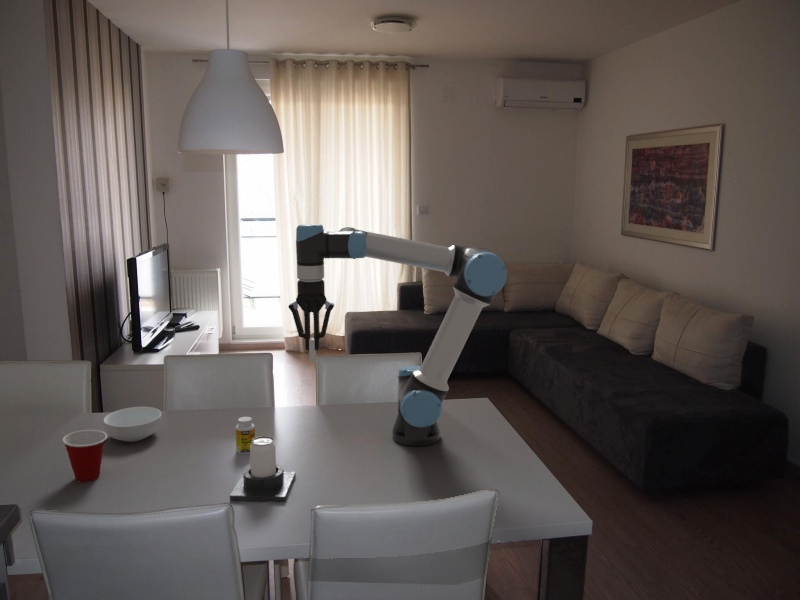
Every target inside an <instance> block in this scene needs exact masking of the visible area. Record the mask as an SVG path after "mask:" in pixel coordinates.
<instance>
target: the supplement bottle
mask: <svg viewBox="0 0 800 600" xmlns="http://www.w3.org/2000/svg"><path fill="white" fill-rule="evenodd" d="M255 427H256V426H255V424H254V423H253V418H252V417H250V416H242V417H241V416H240V417H239V418H238V419H237V424H236V426H235V446H236V449H235V450H236V452H237V453H238V454H240V455H250V446H251V443H252V442H251V441H252V439H254V438H256V428H255Z"/></svg>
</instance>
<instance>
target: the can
mask: <svg viewBox="0 0 800 600" xmlns="http://www.w3.org/2000/svg"><path fill="white" fill-rule="evenodd" d="M251 442H252V443H251V446H250V454H249V455H250V458H249V459H250V462H249V463H250V466H251V476H253V477H260V478H264V477H269V476H272V475H274V474H276V464H277V457H276V455H277V454H276V453H277V451H276V444H275V442H274V438H273V437H272V436H267V435H262V436H257V437H256V436H255V438H254V439H252V441H251Z"/></svg>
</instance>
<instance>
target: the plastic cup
mask: <svg viewBox="0 0 800 600" xmlns="http://www.w3.org/2000/svg"><path fill="white" fill-rule="evenodd" d="M107 438H108V434H107V432H106V431H102V430H97V429H83V430H82V429H81V430H78V431H77V430H76V431H73V432H70V433H67V434H65V436H63V438H62V442H63V444H64V446H65V448H66V452H67V455H68V459H69V462H70V466H71V470H72V472H73V474H74V478H75V480H76V482H78V481H79V483H88V482H89V481H90V482H93V481H95V480H97V479H98V478H99V477H100V474H101V466H102V460H103V451H104V445H105V442H106V440H107ZM90 482H89V483H90Z"/></svg>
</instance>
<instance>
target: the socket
mask: <svg viewBox="0 0 800 600" xmlns="http://www.w3.org/2000/svg"><path fill="white" fill-rule="evenodd" d="M296 476H297V475H296V471H284V468H283V466H282V465H281V464H279V463H276V474H274V475H272V476H269V477H264V478H260V477H253V476H251V465H250V466H247V467H245V469H244V471H243V473H242V474H241V476H240V477H239V480H238V481H237V483H236V484H235V486H234V488H233V489H232V491H231V493H230V495H229V502H251V503H252V502H253V503H256V502H257V503H286V501H287V499H288V497H289V496H288V495H289V493H290V491H291V490H292V486H293V484H294V482H295V479H296Z"/></svg>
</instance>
